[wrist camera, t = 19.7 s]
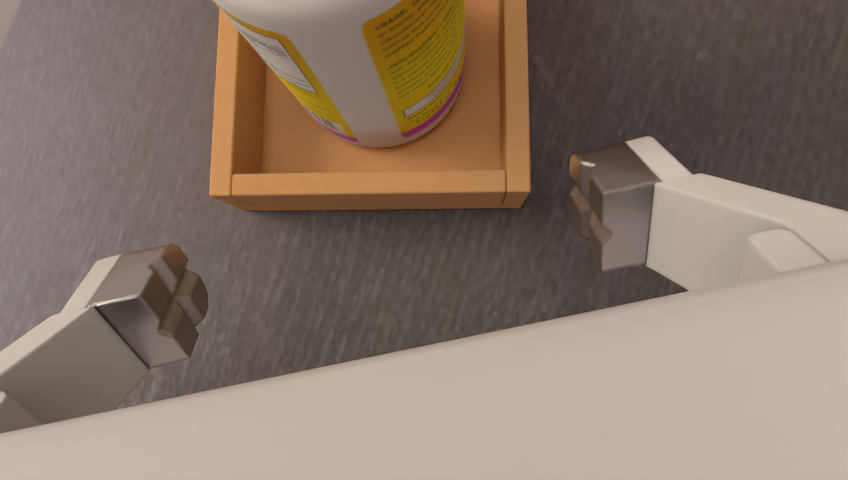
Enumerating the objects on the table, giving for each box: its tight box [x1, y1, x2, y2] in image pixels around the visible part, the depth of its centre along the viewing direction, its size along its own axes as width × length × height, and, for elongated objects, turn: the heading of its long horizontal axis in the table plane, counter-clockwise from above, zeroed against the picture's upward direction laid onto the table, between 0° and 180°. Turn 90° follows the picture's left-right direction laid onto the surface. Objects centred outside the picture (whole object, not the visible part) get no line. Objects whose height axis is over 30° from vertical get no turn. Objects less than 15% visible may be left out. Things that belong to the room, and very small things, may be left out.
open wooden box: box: [209, 0, 531, 211], centre depth 19 cm, size 11×11×3 cm
